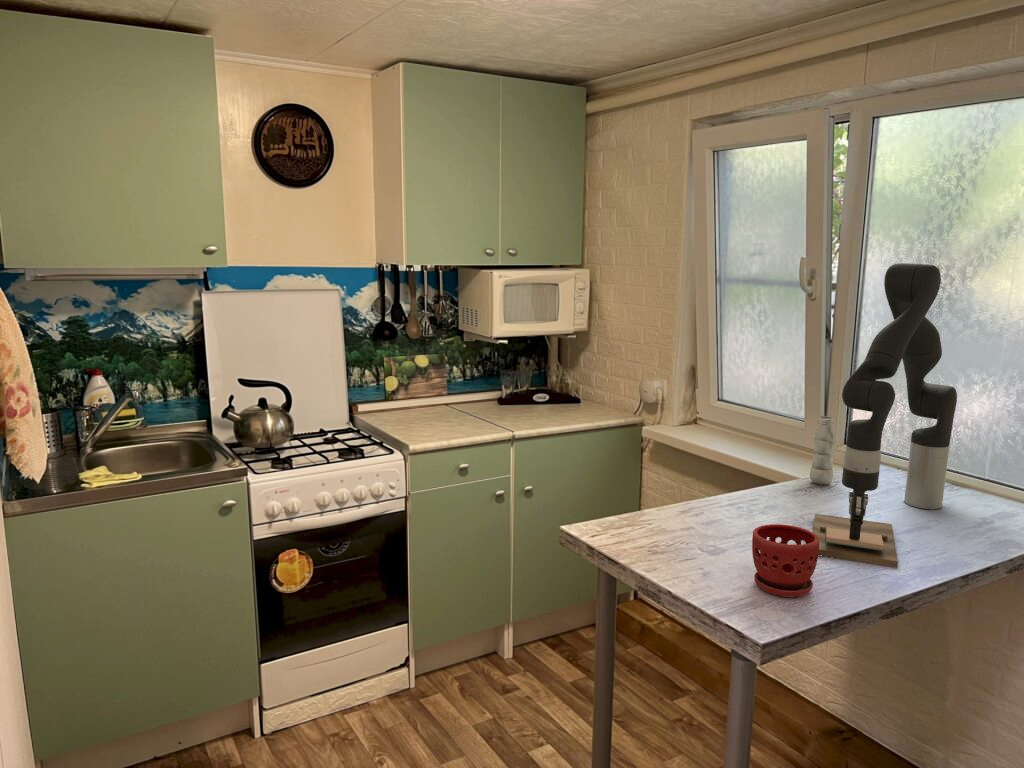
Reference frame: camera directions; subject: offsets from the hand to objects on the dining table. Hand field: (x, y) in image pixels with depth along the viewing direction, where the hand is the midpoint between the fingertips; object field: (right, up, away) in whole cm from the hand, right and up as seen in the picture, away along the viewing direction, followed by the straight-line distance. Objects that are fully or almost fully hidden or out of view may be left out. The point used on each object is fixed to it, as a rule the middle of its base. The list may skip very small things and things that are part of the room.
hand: (854, 538), depth 179 cm
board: (+3, -2, +8) cm, 9 cm away
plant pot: (-22, -7, -16) cm, 28 cm away
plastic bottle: (+12, +6, +50) cm, 52 cm away
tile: (+1, 0, +2) cm, 3 cm away
